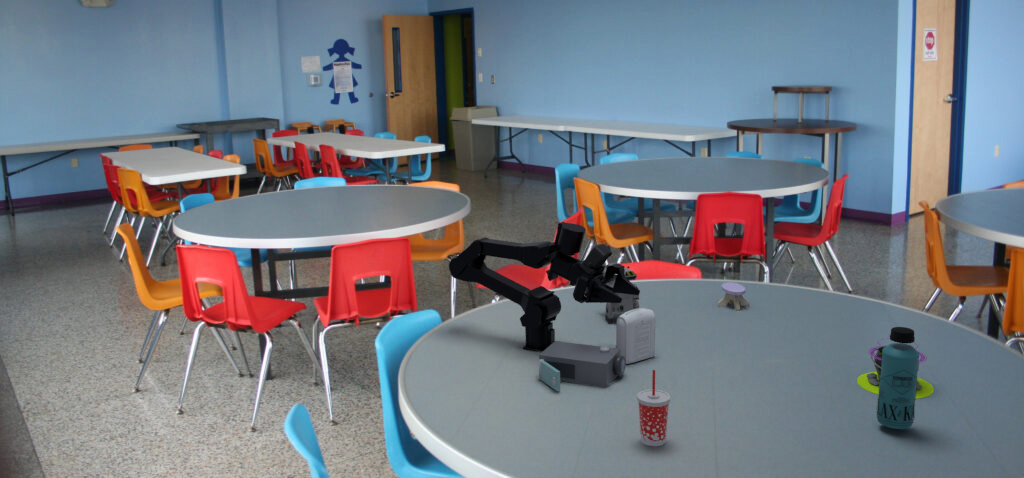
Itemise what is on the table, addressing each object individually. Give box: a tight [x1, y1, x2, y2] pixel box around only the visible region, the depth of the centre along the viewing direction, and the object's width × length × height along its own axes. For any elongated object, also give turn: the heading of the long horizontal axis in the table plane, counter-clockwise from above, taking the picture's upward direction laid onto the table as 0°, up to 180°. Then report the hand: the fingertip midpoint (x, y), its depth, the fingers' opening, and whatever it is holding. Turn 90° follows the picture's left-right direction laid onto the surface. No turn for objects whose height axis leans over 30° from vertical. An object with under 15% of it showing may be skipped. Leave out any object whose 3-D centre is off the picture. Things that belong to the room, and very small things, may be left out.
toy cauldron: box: [856, 333, 935, 400], centre depth 172 cm, size 15×15×11 cm
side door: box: [538, 358, 561, 392], centre depth 177 cm, size 9×1×5 cm, turn 25°
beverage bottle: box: [876, 326, 920, 430], centre depth 150 cm, size 6×7×20 cm
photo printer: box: [615, 307, 656, 365], centre depth 191 cm, size 10×4×12 cm, turn 123°
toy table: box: [717, 281, 750, 311], centre depth 231 cm, size 10×9×6 cm
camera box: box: [538, 340, 627, 388], centre depth 183 cm, size 18×10×6 cm, turn 65°
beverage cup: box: [636, 369, 671, 447], centre depth 149 cm, size 6×6×14 cm
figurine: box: [603, 262, 640, 324], centre depth 222 cm, size 9×12×15 cm
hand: (630, 296), depth 185 cm, fingers open, 9 cm apart
